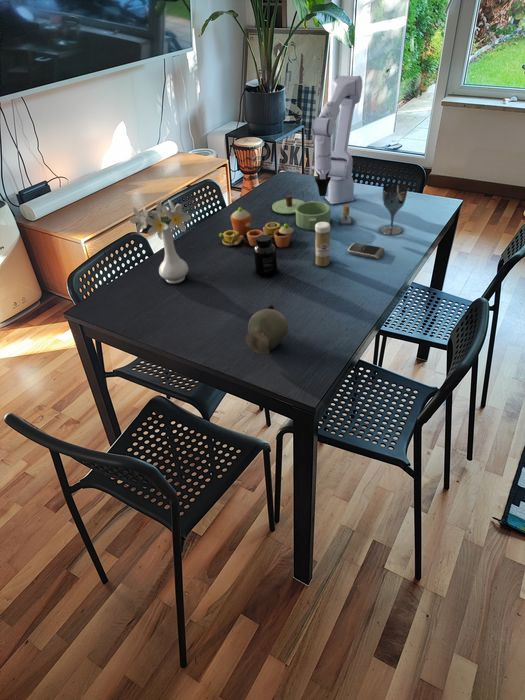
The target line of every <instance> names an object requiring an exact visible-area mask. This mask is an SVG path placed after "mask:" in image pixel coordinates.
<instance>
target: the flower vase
mask: <svg viewBox="0 0 525 700" xmlns="http://www.w3.org/2000/svg"><path fill="white" fill-rule="evenodd" d="M167 202H168V204H167V205H165V206H163V204H162V203H161V202H158V203H157V204H156V206H155V210H154V209H153V210H150V211H148V209H146V207H145V206H142V210H141V211H139V210H138V209H137V208H136V207H135V206H133V207H132V211H133V214H134V215H135V216H131V217H130V218H129V222H130V223H131V224H136V232H137V233H138V234H139V233H142V232H143V230H145V229H147V227H148V225H149V226H151V227H149V229H148V230H147V235H148V236H150V237H151V236H154V235H155V234H157V237H158V238H159V240H162V242H163V248H164V257H163V260H162V262H161V263H160V264H159V267H158V273H159V276H160V277H161V278H162V279H163V280H165V281H166V283H168V284H179V283H182V282H183V281H184V280H185V279H186V276H187V275H188V273H189V265H188V263H187V262H186V261H185V260H184V259H183V258H181V257H180V256H179V254H178V253H177V250H176V248H175V243H174V239H173V230H174V229H175V228H176V227H177V228H178V229H179V230H180V231H181V232H184V233H185V232H186V231H187V227H186V225H185V222H188V221H190V220H191V218H192V216H191V215H190V214H188V213H186V212H184V211H183V205H182V204H181V203H177V204H176V205H175V204H174V203H173V201H171V200H170V199H167Z"/></svg>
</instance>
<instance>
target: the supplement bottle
mask: <svg viewBox="0 0 525 700" xmlns="http://www.w3.org/2000/svg"><path fill="white" fill-rule="evenodd" d="M253 255H254V256H253V258H254V267H255V273H256V275H257V276H259V277H261V278H271V277H273V276H275V275H277V273H278V262H277V261H278V260H277V248H276V246H275V244H274V243H273V237H271V236H270V235H260V236H258V237H257V238H256V246H254V247H253Z"/></svg>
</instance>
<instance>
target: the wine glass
mask: <svg viewBox="0 0 525 700" xmlns="http://www.w3.org/2000/svg"><path fill="white" fill-rule="evenodd" d="M407 196H408V187H407V186H406V185H403V184H397V183H393V184H386V185H384V186H383V187H382V204H383V206H384V208H385V209H386V210H387V212H388V213H389V214H390V225H386V226H383V227H382V228H381V229H380V232H381V233H382V234H385V235H388V236H394V235H399V234H401V233H402V232H403V229H402V228H401V227H399V226H397V225H394V220H395V216H396V214H397V213H398V212H399V211H400V210H401V209H402V208H403V207H404V205H405V202H406V199H407Z"/></svg>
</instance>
